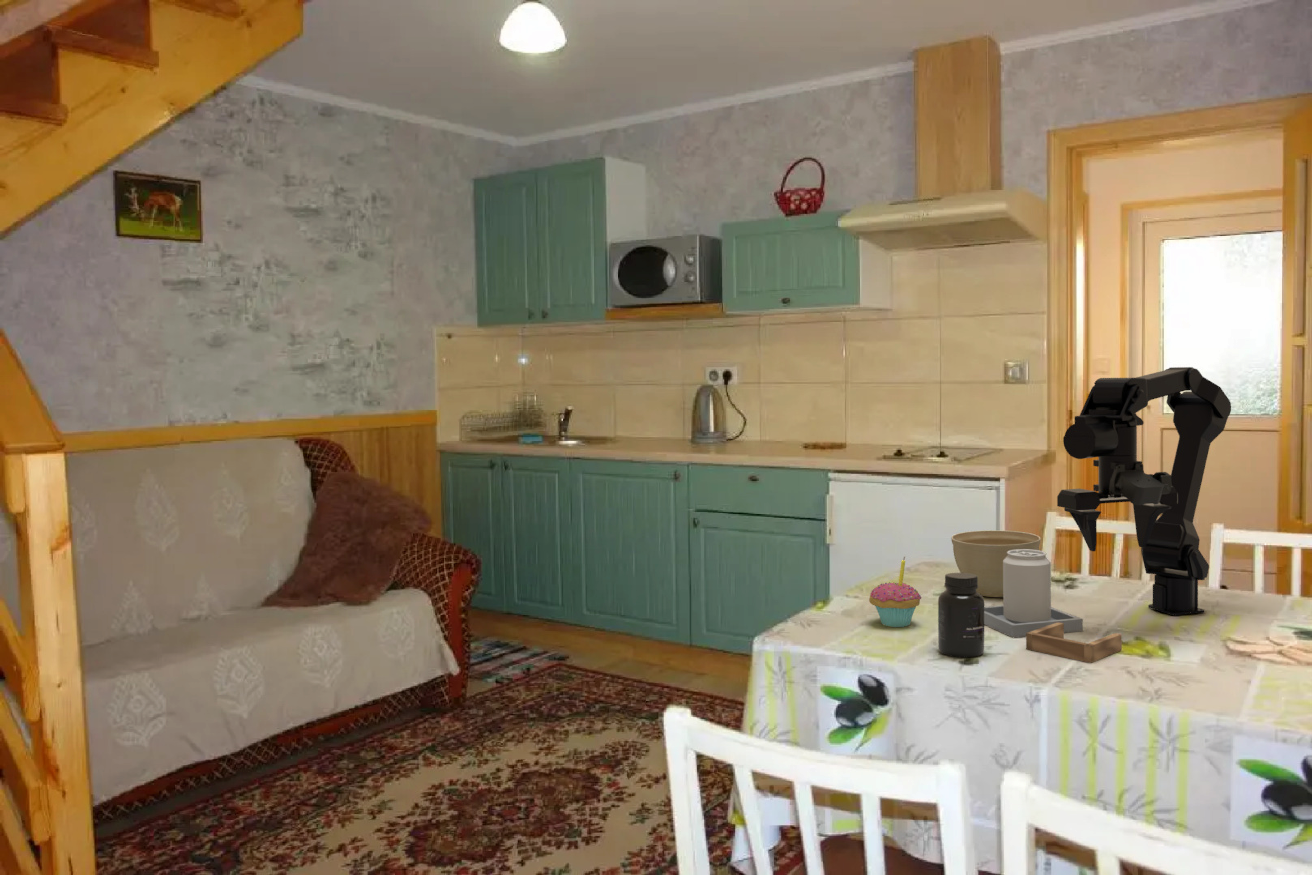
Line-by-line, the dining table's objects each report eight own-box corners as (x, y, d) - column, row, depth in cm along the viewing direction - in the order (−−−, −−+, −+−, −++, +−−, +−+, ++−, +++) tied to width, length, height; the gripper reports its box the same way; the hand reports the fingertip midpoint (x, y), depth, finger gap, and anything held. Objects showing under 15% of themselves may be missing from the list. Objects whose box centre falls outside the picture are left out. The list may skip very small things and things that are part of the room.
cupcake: (929, 622, 176) (928, 553, 175) (905, 633, 170) (903, 561, 169) (885, 615, 182) (884, 548, 181) (860, 625, 176) (858, 556, 175)
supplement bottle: (978, 660, 153) (977, 581, 152) (932, 655, 157) (931, 577, 156) (989, 649, 159) (989, 572, 158) (945, 644, 162) (944, 569, 162)
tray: (1038, 613, 180) (1038, 602, 180) (1082, 630, 167) (1082, 618, 167) (972, 619, 177) (972, 607, 177) (1013, 637, 165) (1013, 625, 165)
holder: (1057, 637, 164) (1057, 622, 164) (1121, 650, 156) (1121, 634, 156) (1026, 648, 158) (1026, 633, 158) (1090, 662, 150) (1090, 646, 150)
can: (1042, 629, 167) (1042, 556, 166) (997, 623, 172) (996, 552, 171) (1056, 619, 173) (1056, 549, 172) (1012, 614, 178) (1011, 545, 177)
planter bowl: (968, 580, 208) (967, 527, 207) (1050, 588, 198) (1050, 533, 197) (939, 596, 195) (939, 540, 194) (1026, 606, 185) (1026, 546, 184)
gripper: (1098, 461, 157) (1098, 562, 158) (1203, 455, 161) (1202, 553, 162) (1055, 455, 168) (1055, 549, 169) (1154, 450, 172) (1154, 542, 173)
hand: (1117, 549), depth 168 cm, fingers open, 9 cm apart
